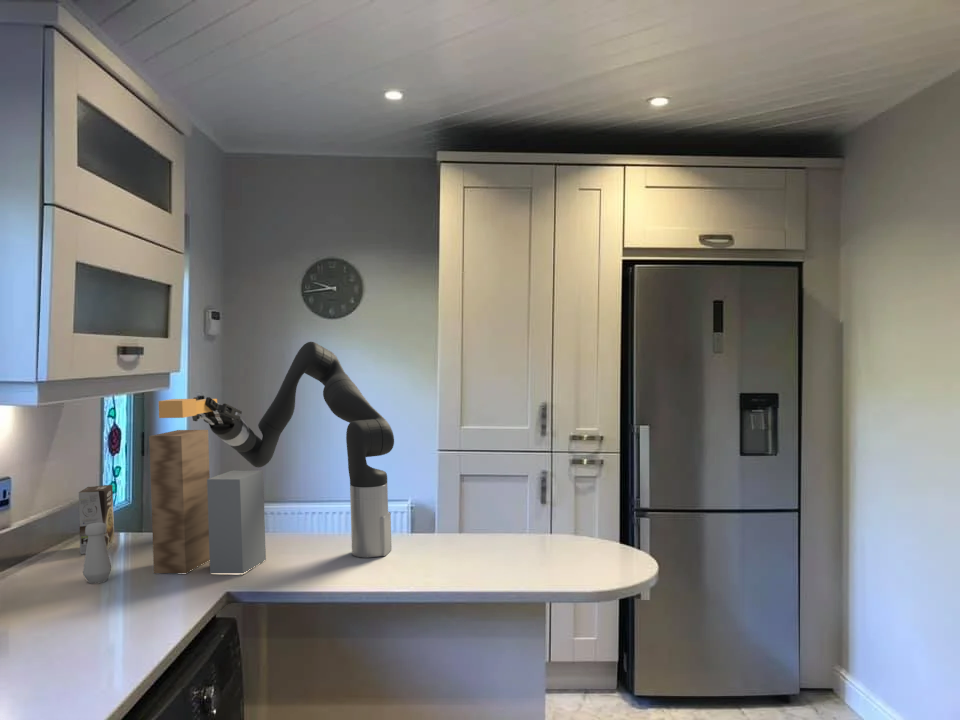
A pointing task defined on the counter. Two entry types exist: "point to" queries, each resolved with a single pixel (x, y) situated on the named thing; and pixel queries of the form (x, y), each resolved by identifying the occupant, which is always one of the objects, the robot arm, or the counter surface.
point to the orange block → (182, 408)
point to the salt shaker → (96, 554)
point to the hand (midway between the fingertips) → (200, 400)
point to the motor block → (236, 521)
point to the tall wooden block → (179, 500)
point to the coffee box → (96, 512)
